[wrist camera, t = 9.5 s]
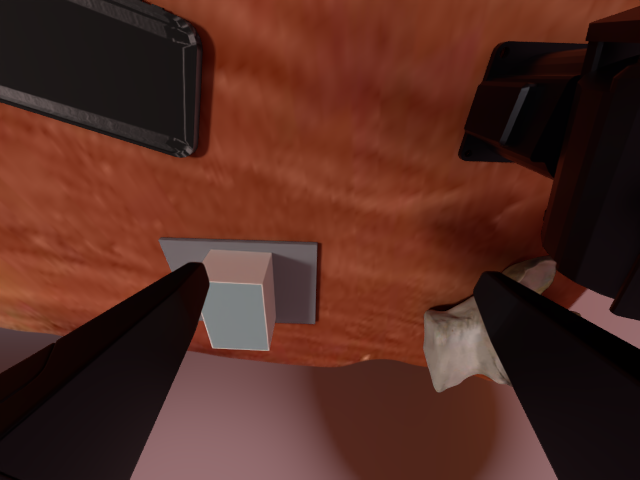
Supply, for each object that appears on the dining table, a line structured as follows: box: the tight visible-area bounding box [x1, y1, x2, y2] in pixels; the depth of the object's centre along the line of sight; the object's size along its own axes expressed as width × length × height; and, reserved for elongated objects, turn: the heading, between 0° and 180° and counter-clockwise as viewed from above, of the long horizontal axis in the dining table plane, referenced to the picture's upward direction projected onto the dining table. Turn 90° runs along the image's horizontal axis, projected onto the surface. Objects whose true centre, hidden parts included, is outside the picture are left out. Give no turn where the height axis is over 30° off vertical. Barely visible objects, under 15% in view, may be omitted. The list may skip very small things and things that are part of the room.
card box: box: [201, 249, 276, 351], centre depth 23 cm, size 9×6×4 cm, turn 177°
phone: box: [0, 0, 203, 158], centre depth 14 cm, size 8×1×15 cm
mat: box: [159, 238, 317, 324], centre depth 25 cm, size 14×11×1 cm
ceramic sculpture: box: [423, 255, 581, 392], centre depth 23 cm, size 11×9×15 cm
